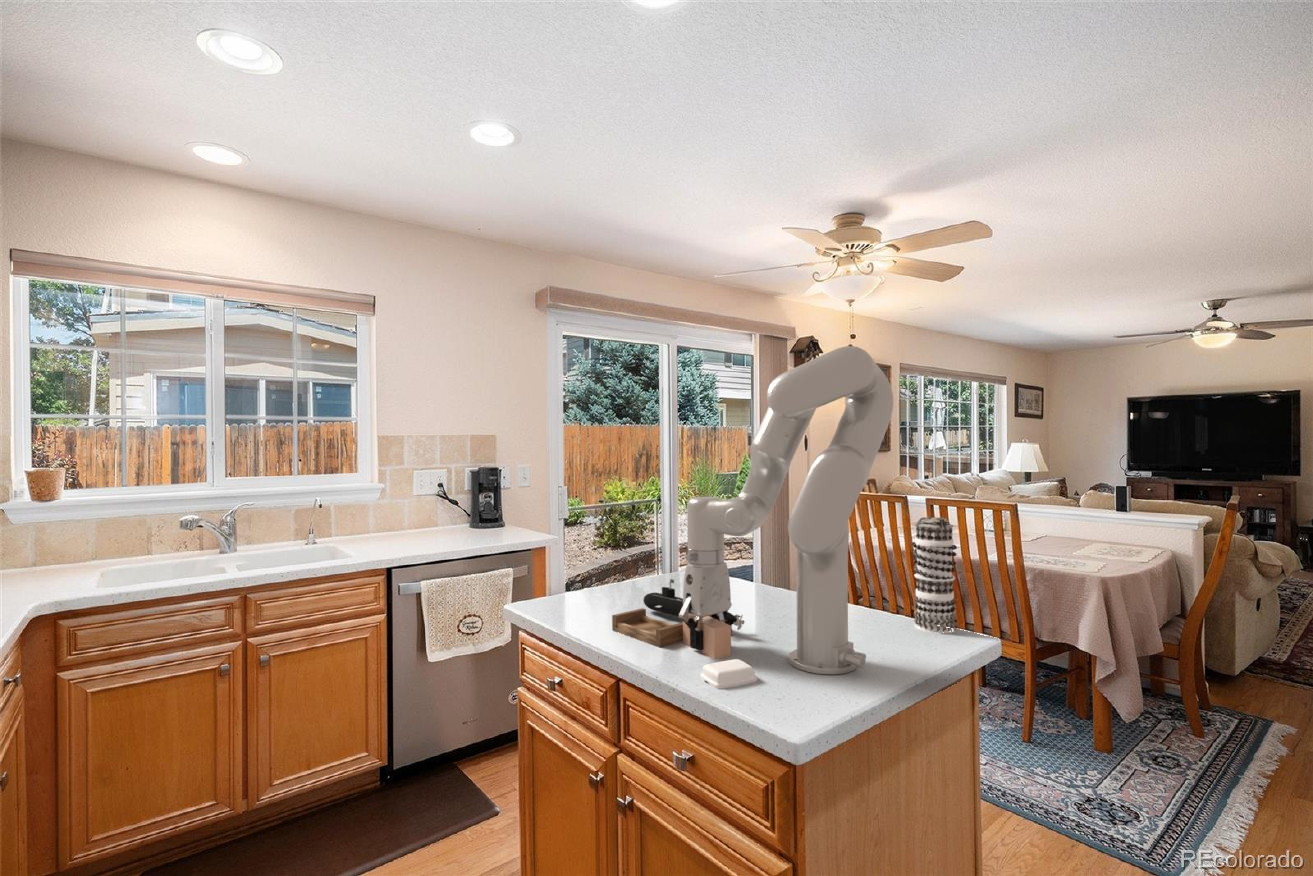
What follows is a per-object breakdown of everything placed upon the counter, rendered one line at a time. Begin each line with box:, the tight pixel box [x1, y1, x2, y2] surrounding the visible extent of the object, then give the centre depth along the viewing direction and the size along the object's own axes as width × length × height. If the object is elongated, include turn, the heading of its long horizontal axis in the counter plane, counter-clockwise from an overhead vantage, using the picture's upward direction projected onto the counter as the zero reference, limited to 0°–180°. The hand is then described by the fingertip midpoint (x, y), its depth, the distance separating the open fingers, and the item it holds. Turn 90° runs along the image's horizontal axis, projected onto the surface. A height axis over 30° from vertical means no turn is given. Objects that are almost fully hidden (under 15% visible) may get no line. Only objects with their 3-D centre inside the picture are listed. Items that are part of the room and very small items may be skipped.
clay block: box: [682, 613, 732, 660], centre depth 130 cm, size 12×4×6 cm, turn 28°
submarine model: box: [643, 579, 745, 637], centre depth 148 cm, size 31×7×10 cm, turn 43°
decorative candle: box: [911, 516, 958, 634], centre depth 143 cm, size 9×9×25 cm
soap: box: [699, 658, 758, 690], centre depth 114 cm, size 9×7×3 cm
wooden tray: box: [611, 607, 683, 648], centre depth 140 cm, size 16×9×4 cm, turn 42°
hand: (706, 645), depth 130 cm, fingers closed on clay block, 4 cm apart
